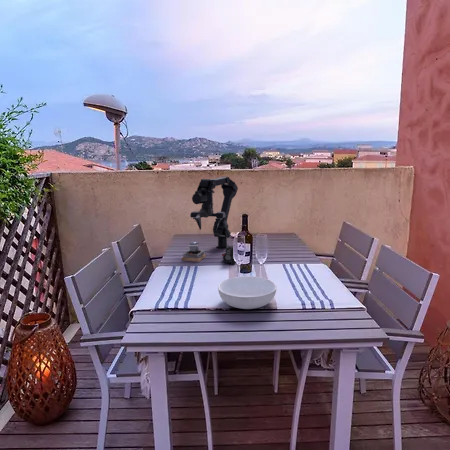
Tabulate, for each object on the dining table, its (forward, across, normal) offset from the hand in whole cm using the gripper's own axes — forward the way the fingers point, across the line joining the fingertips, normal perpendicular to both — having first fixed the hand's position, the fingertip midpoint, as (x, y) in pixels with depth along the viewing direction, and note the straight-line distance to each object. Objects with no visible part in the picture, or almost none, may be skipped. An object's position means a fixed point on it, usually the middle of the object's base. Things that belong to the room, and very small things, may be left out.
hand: (208, 230), depth 190 cm
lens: (+11, -4, -13) cm, 18 cm away
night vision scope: (+13, +16, -13) cm, 24 cm away
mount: (+13, -4, -13) cm, 19 cm away
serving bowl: (+13, +35, -63) cm, 73 cm away
